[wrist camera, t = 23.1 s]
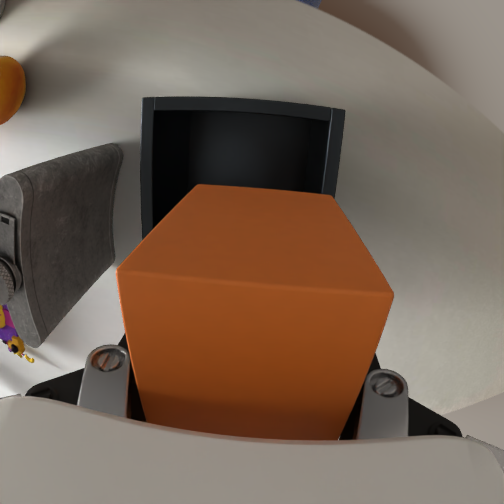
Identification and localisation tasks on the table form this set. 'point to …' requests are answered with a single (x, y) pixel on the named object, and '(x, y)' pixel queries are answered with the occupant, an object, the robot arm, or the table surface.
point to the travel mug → (2, 6)
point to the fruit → (10, 87)
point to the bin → (234, 148)
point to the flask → (55, 236)
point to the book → (11, 334)
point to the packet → (252, 314)
